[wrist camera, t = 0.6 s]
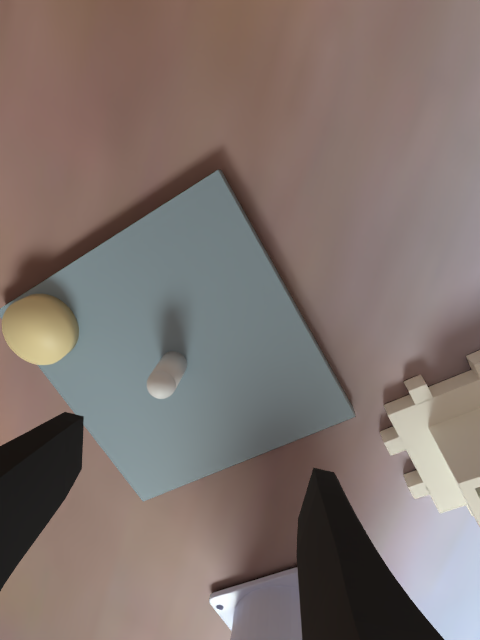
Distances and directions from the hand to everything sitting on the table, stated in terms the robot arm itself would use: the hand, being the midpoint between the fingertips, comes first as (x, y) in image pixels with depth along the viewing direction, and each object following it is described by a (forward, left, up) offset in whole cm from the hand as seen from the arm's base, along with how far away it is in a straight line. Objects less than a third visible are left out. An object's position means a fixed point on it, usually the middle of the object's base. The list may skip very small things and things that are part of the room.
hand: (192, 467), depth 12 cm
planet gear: (-10, -9, -10) cm, 17 cm away
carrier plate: (+1, +3, -10) cm, 10 cm away
